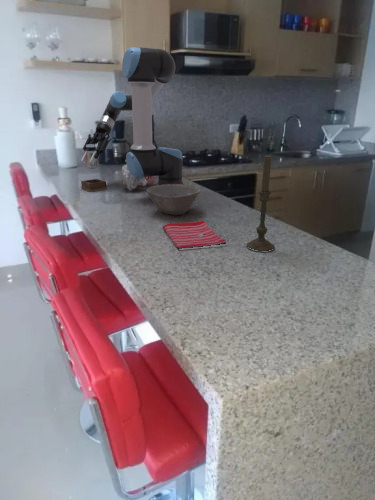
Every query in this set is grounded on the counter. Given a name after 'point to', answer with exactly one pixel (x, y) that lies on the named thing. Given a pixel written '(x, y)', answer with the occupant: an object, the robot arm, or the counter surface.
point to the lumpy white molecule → (133, 179)
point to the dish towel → (192, 234)
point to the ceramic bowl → (173, 197)
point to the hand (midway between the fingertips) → (87, 162)
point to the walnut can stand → (93, 185)
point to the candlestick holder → (263, 211)
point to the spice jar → (90, 155)
